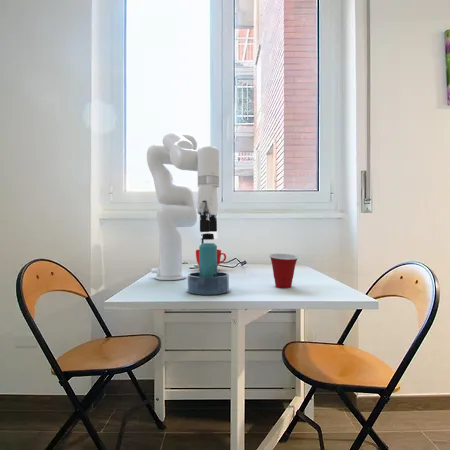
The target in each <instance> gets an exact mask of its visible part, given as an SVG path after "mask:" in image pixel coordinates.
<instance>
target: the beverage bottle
mask: <svg viewBox="0 0 450 450" xmlns="http://www.w3.org/2000/svg"><path fill="white" fill-rule="evenodd" d="M201 235H202V237H201V240H205V241H209V240H210V241H211V240H215V234H214V233H212V232H211V233H210V232H205V233H202V234H201ZM217 249H218V246H217V245H216V243H215V242H202V243H201V244H199V248H198V250H199V258H200V263H199V265H198V270H199V271H198V272H199V275H200V277H218V274H217V272H218V266H217Z"/></svg>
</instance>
